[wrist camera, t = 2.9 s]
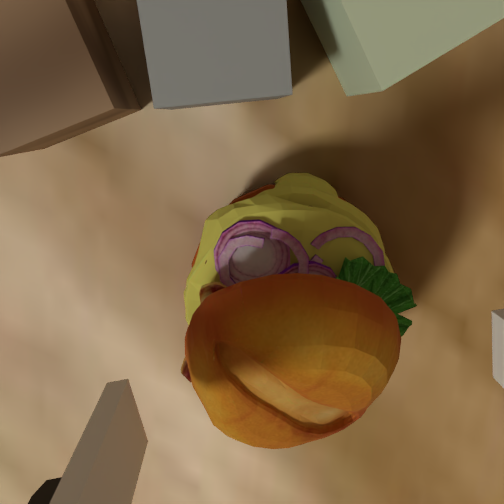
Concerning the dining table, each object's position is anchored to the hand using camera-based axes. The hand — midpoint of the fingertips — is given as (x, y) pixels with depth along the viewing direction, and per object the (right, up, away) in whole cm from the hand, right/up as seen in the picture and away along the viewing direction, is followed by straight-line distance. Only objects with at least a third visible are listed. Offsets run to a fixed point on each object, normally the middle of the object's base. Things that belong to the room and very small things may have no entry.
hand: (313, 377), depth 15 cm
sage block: (+3, +15, +4) cm, 16 cm away
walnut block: (-11, +13, +4) cm, 17 cm away
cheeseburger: (-1, +3, +8) cm, 8 cm away
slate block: (-4, +14, +4) cm, 15 cm away
